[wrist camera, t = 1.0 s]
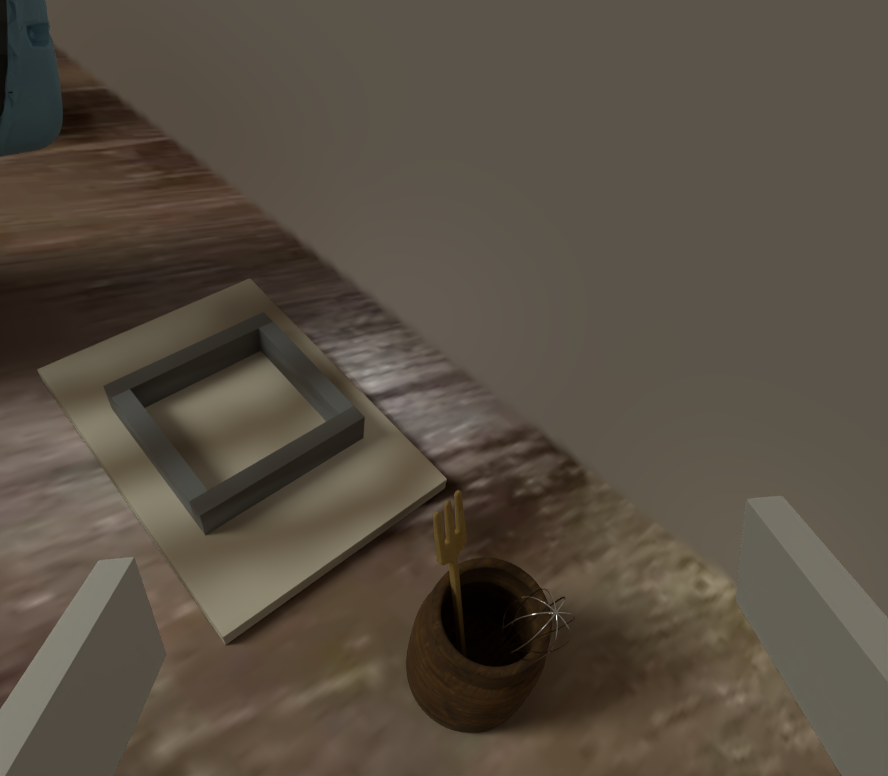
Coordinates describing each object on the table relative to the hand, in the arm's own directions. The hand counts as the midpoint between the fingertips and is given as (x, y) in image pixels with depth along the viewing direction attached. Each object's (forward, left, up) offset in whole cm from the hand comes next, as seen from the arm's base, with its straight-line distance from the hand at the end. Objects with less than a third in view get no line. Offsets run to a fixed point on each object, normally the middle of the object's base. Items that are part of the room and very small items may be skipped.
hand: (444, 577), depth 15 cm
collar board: (-19, +5, -20) cm, 28 cm away
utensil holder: (-1, +6, -20) cm, 21 cm away
